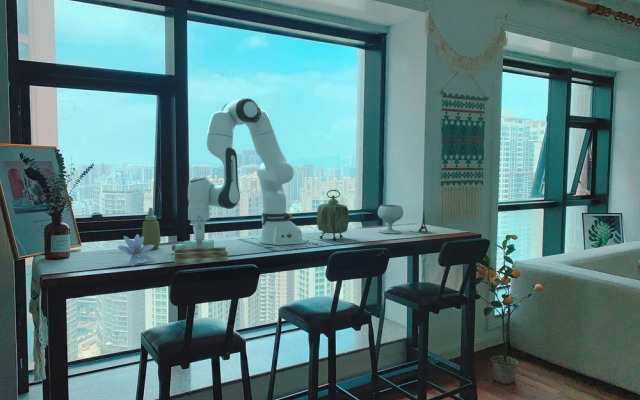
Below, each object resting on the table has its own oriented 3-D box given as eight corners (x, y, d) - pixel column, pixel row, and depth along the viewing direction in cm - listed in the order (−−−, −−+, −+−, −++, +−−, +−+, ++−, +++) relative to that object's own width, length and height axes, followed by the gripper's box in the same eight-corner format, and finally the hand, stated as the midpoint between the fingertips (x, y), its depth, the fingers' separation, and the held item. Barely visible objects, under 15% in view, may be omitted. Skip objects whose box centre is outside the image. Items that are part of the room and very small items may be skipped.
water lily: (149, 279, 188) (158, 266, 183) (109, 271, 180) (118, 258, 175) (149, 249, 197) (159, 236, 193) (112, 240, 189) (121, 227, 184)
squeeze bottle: (154, 250, 210) (154, 209, 208) (137, 249, 211) (136, 208, 210) (164, 247, 218) (163, 207, 216) (147, 246, 219) (147, 206, 218)
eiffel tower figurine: (406, 232, 275) (406, 208, 274) (417, 230, 281) (418, 207, 280) (427, 235, 263) (428, 210, 262) (439, 233, 270) (439, 209, 269)
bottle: (213, 250, 212) (213, 239, 211) (214, 252, 207) (213, 240, 207) (171, 252, 207) (171, 240, 207) (171, 254, 202) (171, 242, 202)
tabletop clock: (343, 237, 250) (344, 189, 248) (349, 240, 241) (350, 190, 239) (316, 238, 245) (317, 189, 243) (322, 241, 237) (322, 190, 235)
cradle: (224, 255, 202) (224, 246, 202) (227, 260, 190) (227, 252, 190) (174, 257, 196) (174, 248, 196) (174, 263, 185) (174, 254, 184)
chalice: (388, 230, 278) (388, 203, 277) (408, 232, 268) (408, 205, 267) (372, 232, 269) (372, 205, 268) (391, 235, 259) (392, 207, 257)
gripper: (207, 218, 197) (208, 251, 198) (205, 212, 217) (205, 243, 218) (191, 218, 195) (192, 252, 197) (190, 212, 215) (190, 243, 216)
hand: (199, 247), depth 207 cm, fingers closed on bottle, 5 cm apart
